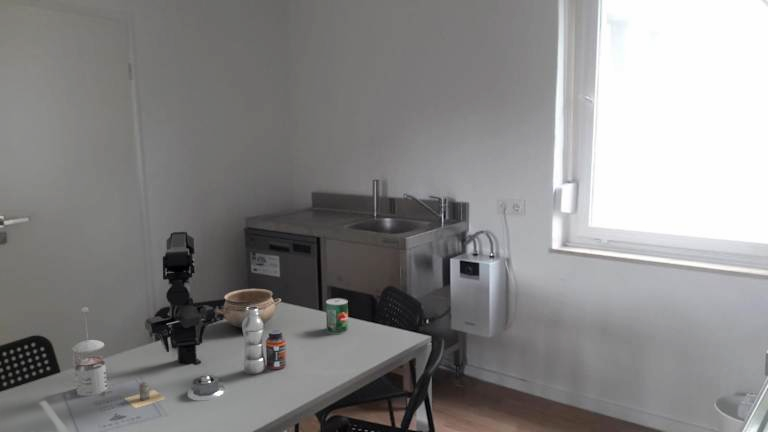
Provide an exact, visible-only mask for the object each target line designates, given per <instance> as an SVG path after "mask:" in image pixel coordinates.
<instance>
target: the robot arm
mask: <svg viewBox="0 0 768 432" xmlns="http://www.w3.org/2000/svg"><path fill="white" fill-rule="evenodd" d="M165 242H166V250H165V254H164V255H163V256H162V279H163V281H165V280H167V282H168V283H167V286H168V287H167V290H166V300H167V302H168V303H169V311H168V316H170V317H167V318H163V317H161V316H154V317H150V318H146V320H145V322H144V329H146V330H147V331H148V332H150V333H151V334H155V335H156V336H158V338H159V341H160V342H161V344H162V345H163V348H164V349H165V352H166V353H169V352H170V344H169V340H168V338H169V337H168V334H169V331H168V329H167V328H168V326H169V325H172V328H170V343H171V349H174V348H176V355H177V359H176V360H175V362H177V363H179V365H181V364H183V365H189V366H190V365H194V366H196V365H198V364H201V363H202V361H201V360H200V359H199V358H197V346H201V344H203V335H204V332H205V329H206V327H207V326H208V324H211V323H212V322H213V320H215V319H217V312H216V309H215V308H213V307H212V306H210V305H207V304H206V305H205V304H203V305H197V306H195V303H194V300H193V298H192V293H191V282H190V279H191V278H193V277H194V276H193V274H195V270H196V269H195V257H194V255H196V244H195V238H194V237H192V236H191V235H189V234H188V232H187V231H186V230H185V231H173V232H170V236H169V237H168V238H166V241H165ZM166 329H167V330H166Z"/></svg>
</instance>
